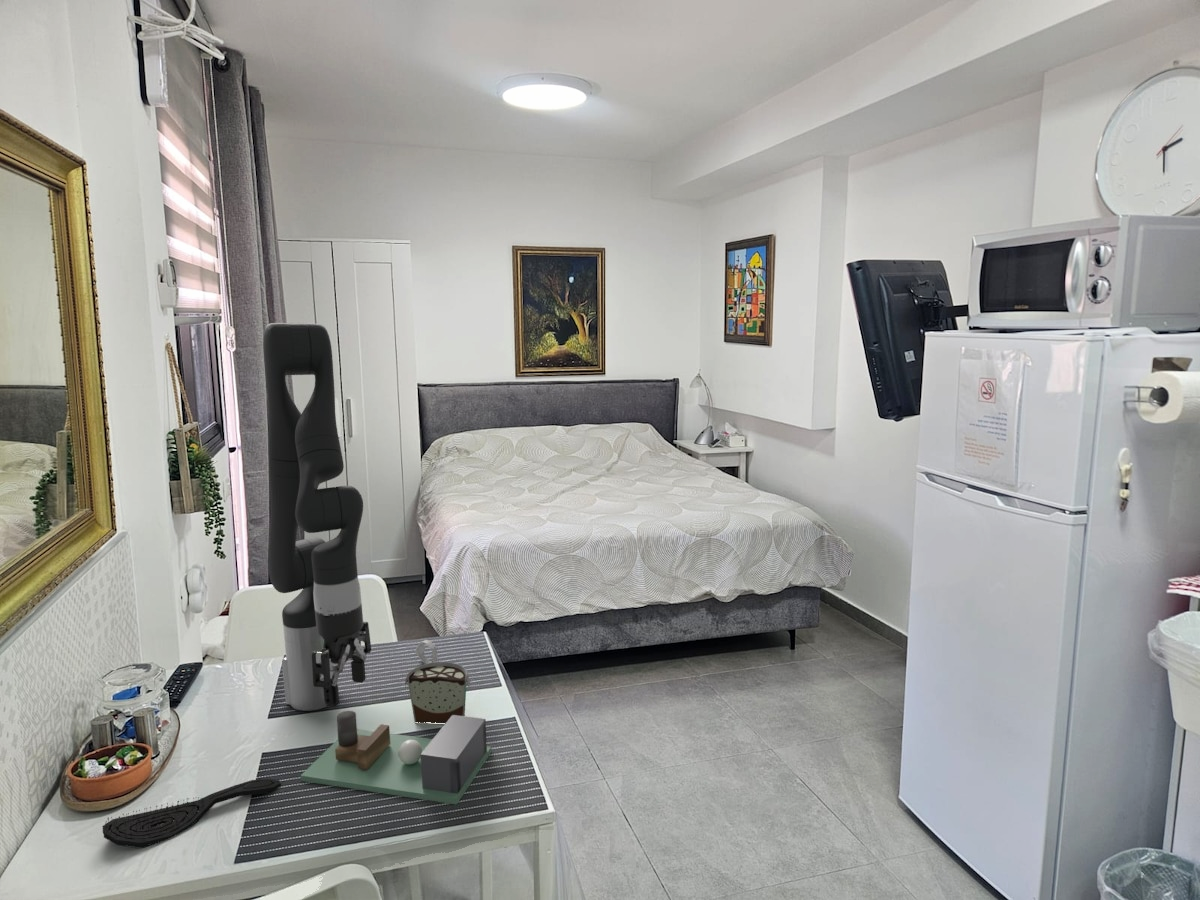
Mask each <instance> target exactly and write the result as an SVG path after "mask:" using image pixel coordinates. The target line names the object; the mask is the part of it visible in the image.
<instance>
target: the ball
mask: <svg viewBox="0 0 1200 900" xmlns="http://www.w3.org/2000/svg"><path fill="white" fill-rule="evenodd" d="M421 753H422V747H421V745H420V743H419V742H418V741H416V740H412V739H410V740H406V741H405V742H403V743H402V744H401V746H400V747H399V750H398V756H399V759H400V760H401V761H402V762H403V763H405V764H409V765H410V764H414V763H416V762H417V761H418V760H419V759H420V758H421V755H420V754H421Z"/></svg>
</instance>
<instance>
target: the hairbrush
mask: <svg viewBox="0 0 1200 900" xmlns="http://www.w3.org/2000/svg"><path fill="white" fill-rule="evenodd" d="M281 784H282V783H281V781H280V780H279V779H272V778H260V779H250V780H247V781H245V782H241V783H238V784H234V785H232V786H229V787H227V788H224V789H220V790H219V791H215V792H213V793H210V794H209V795H206V796H203V797H197V796H195V797H193V798H192V799H193V800H192V801H186V802H185V799H183V803H181V804H179V803H180V801H179V800H177V801H176V802H177V804H176V805H174V804H172V805H171V806H169V804H168V802H167V805H166V806H165V807H164V808H163V804H161V807H160V808H159V809H157V808H158V806H159V805H156V806H155V808H156V809H153V810H151V809H152V807H151V806H150V807H149V808H150V810H149V811H144V812H140V809H139V810H136V811H135V810H133V811H132V812H133V813H135V812H136V813H135V814H131V815H129V814H130V813H129V812H128V814H127V813H126V815H125V813H122V817H121V816H118V817H115V818H113V817H112V816H111V817H110V818H109V817H107V820H105V824H104V825H102V834H103V838H104V839H105V840H107V841H109V842H111V843H113V844H114V845H116V846H119V847H121V846H122V847H130V848H139V849H143V848H147V847H151V846H154V845H157V844H159V843H161V842H165V841H167V840H170V839H171V838H174V837H176V836H177V835H179V834H182V833H183V832H185V831H187V830H188V829H189V828H192V827H193V826H195V825H196V824H197V823H198V822H199V821H201V819H203V817H205V815H206V814H207V813H208V812H209V811H210V810H211V809H212V808H213V807H214V806H215V805H216V804H218V803H222V802H225V801H228V800H231V799H235V798H239V797H247V796H257V795H261V794H267V793H271V792H275V791H276V790H277V789H278V788H279V787H281ZM199 798H200V799H199ZM195 799H196V800H195ZM186 800H190V798H188V797H187V798H186ZM184 802H185V803H184ZM147 809H148V807H145V810H147ZM137 812H140V813H137ZM109 819H111V820H109Z"/></svg>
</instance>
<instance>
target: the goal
mask: <svg viewBox="0 0 1200 900" xmlns="http://www.w3.org/2000/svg"><path fill="white" fill-rule="evenodd" d="M486 722H487V721H486V718H482V717H474V716H473V717H472V716H457V715H452V716H451V717H450V719H449V720H448V721H447V722H446V723H445V725H442V727H441V728H440V730H439V731H438V732H437V733H436V735H435V736H434V737H433V738H431V739H432V741H431V742H430V743H429V744H428V746H427V747H426V748H425V749H424V751H423V752H422V753H421V754H420V755H421V772H422V788H423V789H430V790H437V791H443V792H450V793H457V794H458V793H459V791H460V790H461V788H462V787H463V785H464V784H465V782H466V781H467V780H468V778H469V777H470V775H471V774H472V772H473V771H474V769H475V768H476V766H477V765H478V763H479V762H480V760H481V759H482V757H483V756H484V754H485V753H486V751H487V746H488V745H487V723H486Z"/></svg>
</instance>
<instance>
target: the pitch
mask: <svg viewBox="0 0 1200 900" xmlns="http://www.w3.org/2000/svg"><path fill="white" fill-rule="evenodd" d="M374 731H375V730H365V729H359V728H357V734H358V735H366V736H370V735H371V734H372V733H373V732H374ZM410 739H412V740H416V741H418V742H419V743H420V745H421V747H422V752H423V751H424V749H425V748H426V747H427V746H428V744H429V743H430V742H431V741H432V739H433V738H427V737H426V738H425V737H419V736H411V735H403V734H396V733H390V745H389V746H388V747H387V748H386V749H385V750H384V752H383V753H382V754H381V755H380V756H379V757H378V758H377V759H376V760H375V762H374V763H373V764H372V765H371V766H370V767H369V768H368V769H367V770H365V769H359V768H358V763H356V762H349V761H342V760H336V754H335V749H336V748H337V747H338V746H339V743H338V739H336V741H334V743H332V744H331V745H330V747H328V748H327V749H326V750H325V751H324V752H323V753H322V754H321V755H320V756H319V757H318V758H317V759H316V760H315V761H314V762H313V763H312V764H311V765H310V766H309V767H308V768H307V769H306V770H304V772H303V773H302V774H301V775H300V780H301V781H302V782H307V783H313V784H319V785H324V786H325V785H326V786H333V787H339V788H344V789H345V788H347V789H353V790H360V791H364V790H365V792H372V793H378V794H384V795H393V796H399V797H404V798H410V799H411V798H412V799H419V800H423V801H424V800H425V801H430V802H431V801H432V802H438V803H444V804H451V805H458V804H459V802H460V800H461V799H462V797H463V796H464V795H465V793H466V792H467V789H468V788H469V787H470V785H471V784H472V782H473V780H474V779H475V778H476V776H477V774H479V771H480V770H481V769H482V767H483V766H484V764H485V762H486V761H487V759H488V758H489V756H490V755H491V753H492V746H488V745H487V751H486V753H485V754H484V756H483V757H482V759H481V760H480V762H479V763H478V765H477V766H476V768H475V769H474V771H473V772H472V774H471V775H470V777H469V778H468V780H467V781H466V782H465V784H464V785H463V787H462V788H461V790H460V791H459V793H458V794H457V793H450V792H443V791H437V790H430V789H423V788H422V772H421V758H420V759H419V760H418V761H417V762H416V763H414V764H410V765H409V764H405V763H403V762H402V761H401V760H400V759H399V756H398V750H399V747H400V746H401V744H402V743H403V742H405V741H406V740H410Z"/></svg>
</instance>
